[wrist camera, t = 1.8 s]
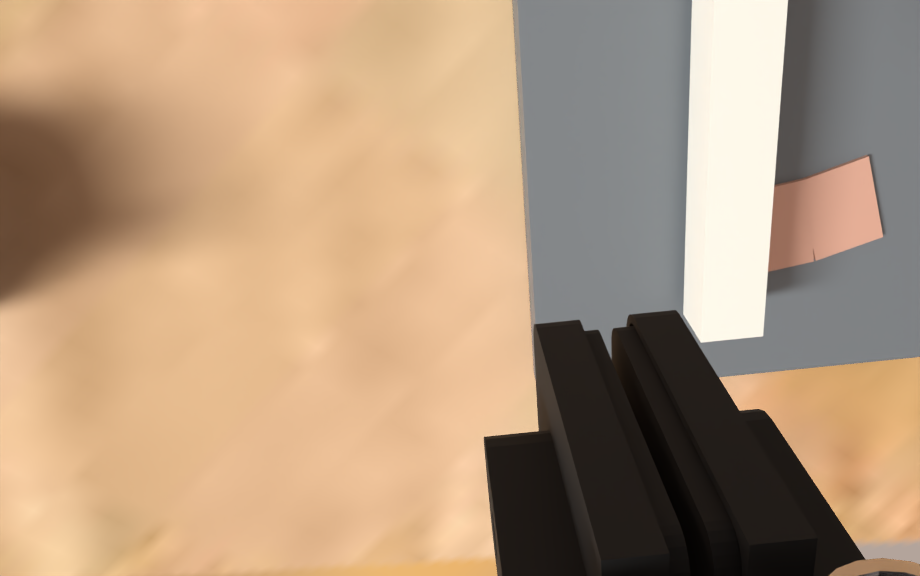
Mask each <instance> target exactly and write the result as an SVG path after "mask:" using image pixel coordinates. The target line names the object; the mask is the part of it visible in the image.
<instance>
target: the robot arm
mask: <svg viewBox="0 0 920 576" xmlns="http://www.w3.org/2000/svg"><path fill="white" fill-rule="evenodd" d="M533 337H534V356H535V374H536V391H537V408H538V425H539V431H538V432H528V433H518V434H509V435H499V436H489V437H484V447H485V459H486V470H487V481H488V492H489V502H490V512H491V522H492V531H493V540H494V549H495V558H496V566H497V574H498V576H920V564H917V563H914V562H911V561H902V560H894V559H885V558H880V559H869V560H865V558H864V557H863V555H862V554H861V552H860V551H859V549H858V548H857V546H856V545H855V543H854V542H853V540H852V539H851V537H850V536H849V534H848V533H847V531H846V530H845V528H844V527H843V525H842V524H841V522H840V521H839V519H838V518H837V516H836V515H835V513H834V512H833V510H832V509H831V507H830V506H829V504H828V503H827V501H826V500H825V498H824V497H823V495H822V494H821V492H820V491H819V489H818V488H817V486H816V485H815V483H814V482H813V480H812V479H811V477H810V476H809V474H808V473H807V471H806V470H805V468H804V467H803V465H802V464H801V462H800V461H799V459H798V458H797V456H796V455H795V453H794V452H793V450H792V449H791V447H790V446H789V444H788V443H787V441H786V440H785V439H784V437H783V436H782V434H781V433H780V431H779V430H778V428H777V427H776V425H775V424H774V422H773V421H772V419H771V418H770V417H769V416H768V414H767V413H766V412H765V411H763V410H760V409H754V410H744V411H739V410H738V408H737V406H736V405H735V403H734V402H733V400H732V398H731V397H730V395H729V394H728V392H727V390H726V389H725V387H724V385H723V384H722V382H721V381H720V379H719V377H718V376H717V374H716V372H715V371H714V369H713V368H712V366H711V364H710V363H709V361H708V360H707V358H706V356H705V355H704V353H703V351H702V350H701V348H700V347H699V345H698V343H697V342H696V340H695V338H694V337H693V335H692V334H691V332H690V330H689V329H688V327H687V326H686V324H685V322H684V321H683V319H682V317H681V316H680V314H679V313H678V312H677V311H676V310H670V311H660V312H650V313H640V314H630V315H629V316H628V318H627V324H626V327H619V328H613V330H612V337H611V351H612V360H611V357H610V355H609V353H608V350H607V348H606V345H605V343H604V341H603V338H602V336H601V333H600V331H599V330H589V331H584V329H583V326H582V323H581V322H580V320H571V321H561V322H551V323H541V324H534V327H533Z"/></svg>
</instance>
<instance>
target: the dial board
mask: <svg viewBox="0 0 920 576" xmlns="http://www.w3.org/2000/svg"><path fill="white" fill-rule="evenodd" d="M512 2H513V19H514V37H515V54H516V71H517V88H518V105H519V122H520V139H521V157H522V174H523V191H524V208H525V225H526V242H527V259H528V277H529V294H530V311H531V328H532V345H533V362H534V375H535V379H536V374H535V356H534V337H533V327H534V324H541V323H551V322H561V321H571V320H580V322H581V323H582V326H583V329H584V331H589V330H599V331H600V333H601V336H602V338H603V341H604V343H605V345H606V348H607V350H608V353H609V355H610V357H611V360H612V351H611V337H612V330H613V328H619V327H626V324H627V318H628V316H629V315H630V314H640V313H650V312H660V311H670V310H676V311H677V312H678V313H679V314H680V316H681V317H682V319H683V321H684V322H685V324H686V326H687V327H688V329H689V330H690V332H691V334H692V335H693V337H694V338H695V340H696V342H697V343H698V345H699V347H700V348H701V350H702V351H703V353H704V355H705V356H706V358H707V360H708V361H709V363H710V364H711V366H712V368H713V369H714V371H715V372H716V374H717V376H718V377H725V376H735V375H745V374H755V373H765V372H775V371H784V370H794V369H804V368H814V367H824V366H834V365H844V364H854V363H863V362H873V361H883V360H893V359H903V358H913V357H920V0H788V7H787V21H786V34H785V47H784V61H783V74H782V88H781V101H780V115H779V128H778V142H777V155H776V169H775V182H774V196H773V209H772V223H771V236H770V249H769V263H768V276H767V290H766V303H765V317H764V330H763V336H762V337H752V338H742V339H732V340H722V341H712V342H702V343H701V342H700V340H699V339H698V337H697V335H696V334H695V332H694V331H693V329H692V327H691V326H690V324H689V323H688V321H687V319H686V318H685V316H684V315H683V304H684V268H685V233H686V197H687V161H688V126H689V90H690V55H691V19H692V0H512Z"/></svg>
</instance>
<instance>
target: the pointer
mask: <svg viewBox="0 0 920 576" xmlns="http://www.w3.org/2000/svg"><path fill="white" fill-rule="evenodd" d="M787 7H788V0H692V19H691V55H690V90H689V126H688V161H687V197H686V233H685V268H684V304H683V315H684V316H685V318H686V319H687V321H688V323H689V324H690V326H691V327H692V329H693V331H694V332H695V334H696V335H697V337H698V339H699V340H700V342H701V343H702V342H712V341H722V340H732V339H742V338H752V337H762V336H763V330H764V317H765V303H766V290H767V276H768V263H769V249H770V236H771V223H772V209H773V196H774V182H775V169H776V155H777V142H778V128H779V115H780V101H781V88H782V74H783V61H784V47H785V34H786V21H787Z"/></svg>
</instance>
